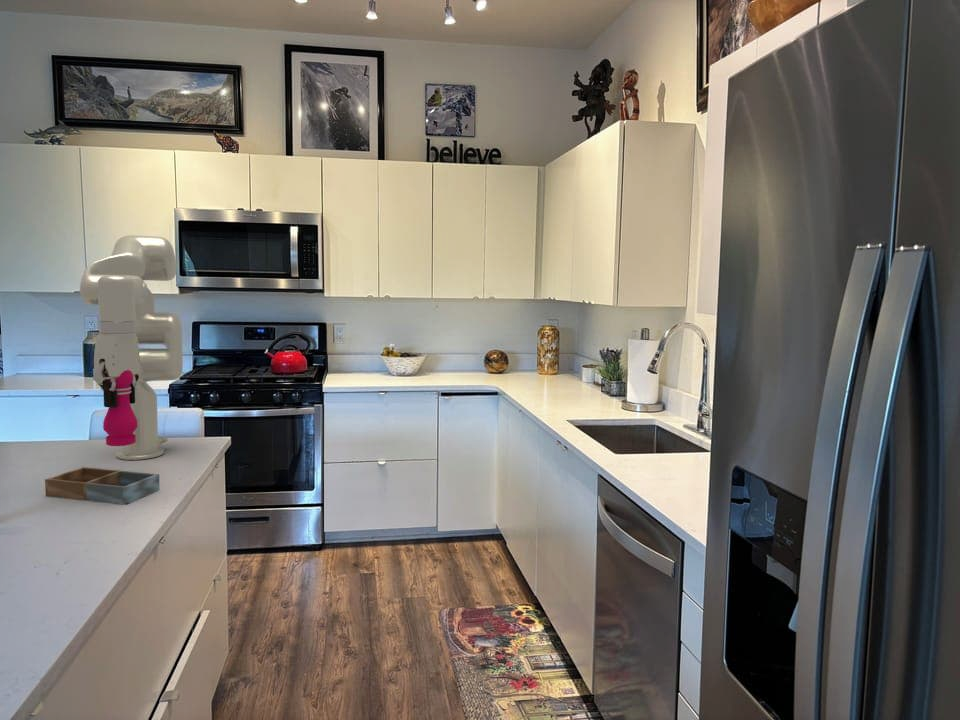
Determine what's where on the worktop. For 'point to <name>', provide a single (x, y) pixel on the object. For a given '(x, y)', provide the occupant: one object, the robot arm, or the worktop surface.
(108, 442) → the pepper mill
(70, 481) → the organizer
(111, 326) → the robot arm
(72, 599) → the worktop surface
